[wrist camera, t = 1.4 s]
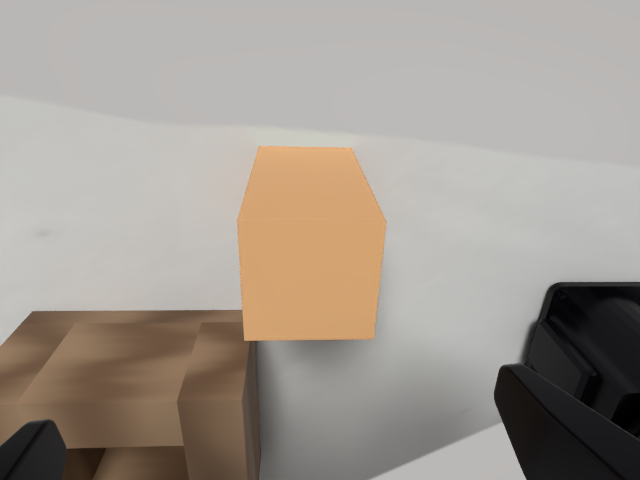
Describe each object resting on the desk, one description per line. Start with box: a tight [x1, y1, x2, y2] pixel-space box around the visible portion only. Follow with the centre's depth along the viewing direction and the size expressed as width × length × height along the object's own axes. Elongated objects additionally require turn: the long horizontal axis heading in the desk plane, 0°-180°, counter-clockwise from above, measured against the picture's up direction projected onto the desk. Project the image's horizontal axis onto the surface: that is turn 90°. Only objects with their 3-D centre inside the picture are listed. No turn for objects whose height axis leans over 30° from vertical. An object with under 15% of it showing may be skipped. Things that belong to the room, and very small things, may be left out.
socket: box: [0, 310, 261, 480], centre depth 22 cm, size 11×11×6 cm
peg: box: [237, 146, 386, 341], centre depth 16 cm, size 4×4×8 cm
